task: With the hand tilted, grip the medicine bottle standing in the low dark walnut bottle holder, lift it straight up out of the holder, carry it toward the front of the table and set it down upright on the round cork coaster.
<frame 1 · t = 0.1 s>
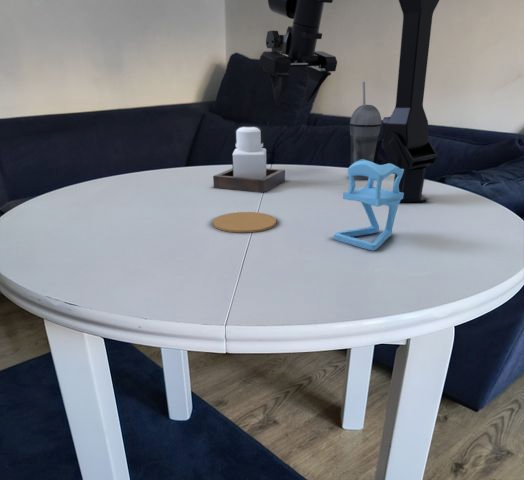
hand: (292, 103, 112), 15 cm above the table, tool pointing down, fingers open, 9 cm apart
medicine bottle: (250, 185, 110), resting in bottle holder
chair: (368, 240, 76), on the table
bottle holder: (250, 184, 110), on the table
beverage cup: (360, 178, 115), on the table
cork coaster: (244, 222, 84), on the table
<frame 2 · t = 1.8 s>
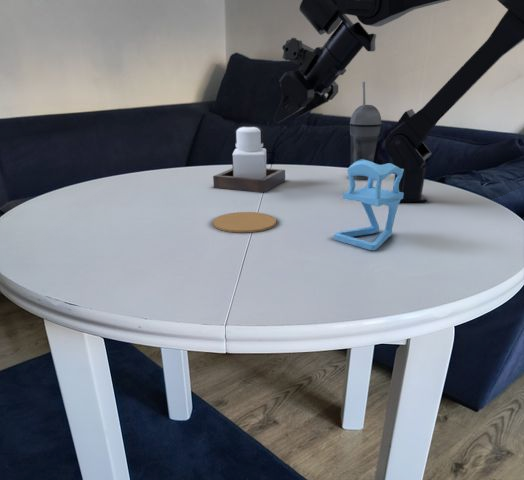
hand: (284, 119, 101), 14 cm above the table, tool tilted 40°, fingers open, 9 cm apart
nothing on the table moved.
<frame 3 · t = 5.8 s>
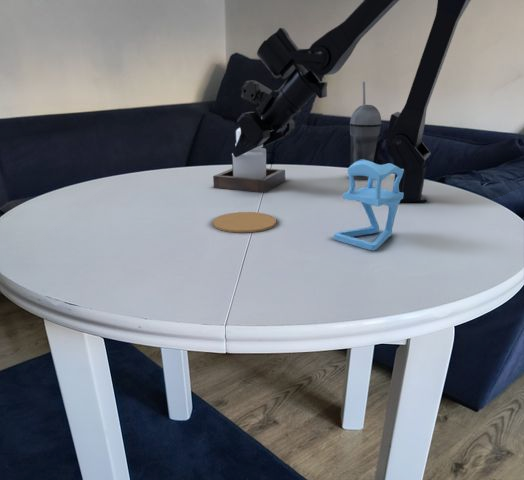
hand: (243, 152, 107), 7 cm above the table, tool tilted 45°, fingers closed on medicine bottle, 8 cm apart
medicine bottle: (250, 185, 110), resting in bottle holder, touching gripper
everything else where it was.
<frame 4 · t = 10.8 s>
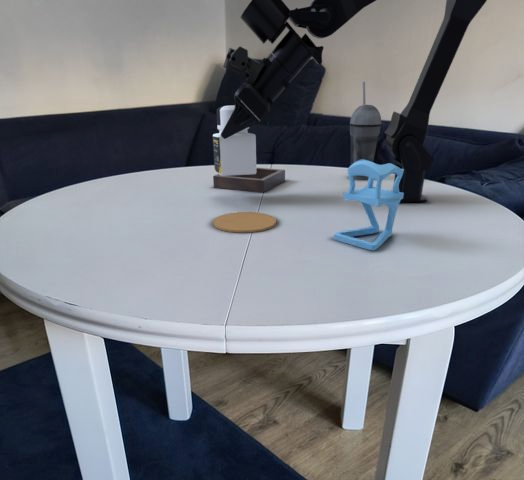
hand: (224, 134, 92), 12 cm above the table, tool tilted 45°, fingers closed on medicine bottle, 7 cm apart
medicine bottle: (235, 174, 96), point 5 cm above the table, touching gripper
everything else where it was.
when the fingers open (8 cm above the table, at t = 16.1 s): medicine bottle stays where it is, resting on cork coaster.
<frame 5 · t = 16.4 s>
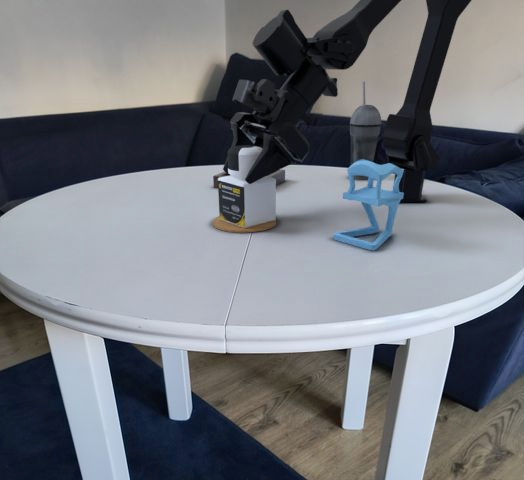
hand: (235, 176, 80), 8 cm above the table, tool tilted 45°, fingers open, 9 cm apart
medicine bottle: (247, 221, 84), resting on cork coaster
everything else where it was.
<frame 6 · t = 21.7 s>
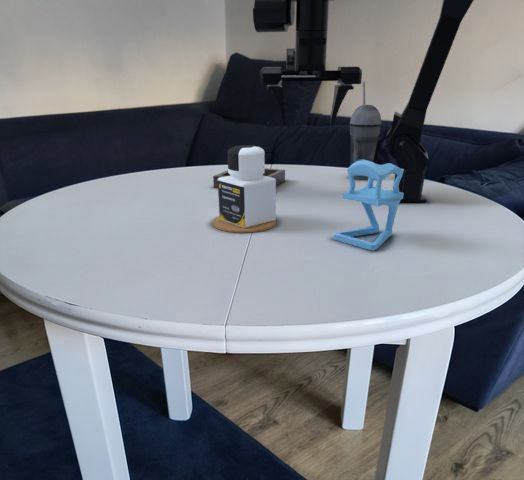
hand: (307, 126, 95), 13 cm above the table, tool pointing down, fingers open, 9 cm apart
nothing on the table moved.
at the end: medicine bottle inside the target area on the cork coaster (0.5 cm from its centre), point 0.2 cm above the cork coaster's base; medicine bottle tilted 0°; medicine bottle touching cork coaster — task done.
